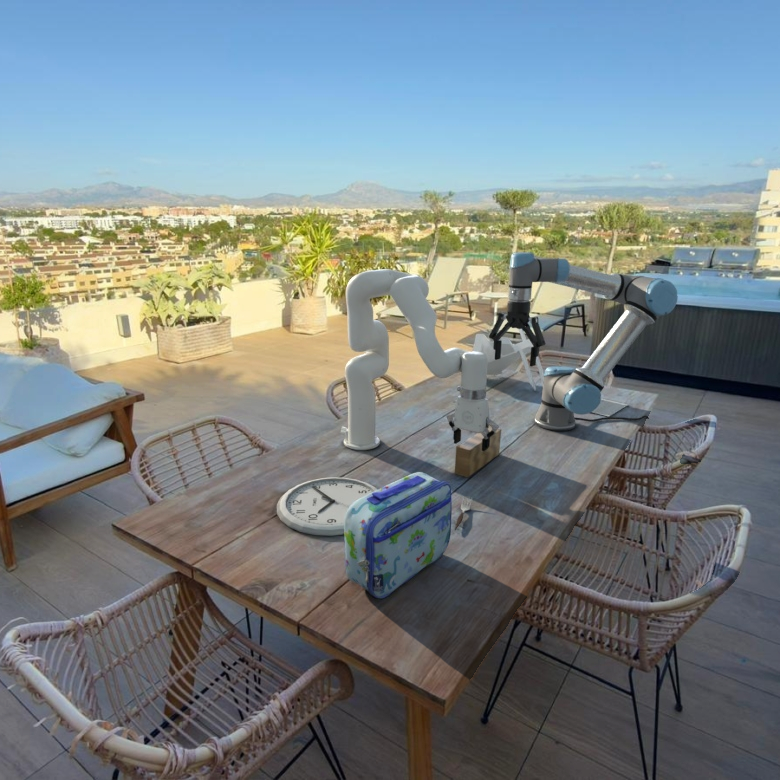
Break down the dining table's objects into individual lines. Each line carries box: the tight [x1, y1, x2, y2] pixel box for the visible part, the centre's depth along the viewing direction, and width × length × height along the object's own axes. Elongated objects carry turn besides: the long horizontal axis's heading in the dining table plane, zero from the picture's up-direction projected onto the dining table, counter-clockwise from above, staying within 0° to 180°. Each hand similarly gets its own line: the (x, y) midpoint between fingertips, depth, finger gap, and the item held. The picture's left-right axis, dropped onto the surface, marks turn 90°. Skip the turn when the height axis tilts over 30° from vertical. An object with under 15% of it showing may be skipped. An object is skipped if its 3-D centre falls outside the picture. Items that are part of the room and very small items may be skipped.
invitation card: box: [591, 398, 629, 417], centre depth 226 cm, size 21×1×15 cm
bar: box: [454, 426, 502, 478], centre depth 169 cm, size 22×5×9 cm, turn 143°
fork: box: [454, 495, 473, 531], centre depth 138 cm, size 3×16×2 cm, turn 160°
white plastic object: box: [471, 329, 545, 391], centre depth 258 cm, size 37×45×31 cm
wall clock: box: [276, 476, 379, 537], centre depth 142 cm, size 30×2×30 cm
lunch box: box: [343, 471, 453, 599], centre depth 113 cm, size 26×11×21 cm, turn 134°
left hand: (470, 445), depth 162 cm, fingers open, 9 cm apart
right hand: (514, 362), depth 180 cm, fingers open, 13 cm apart
